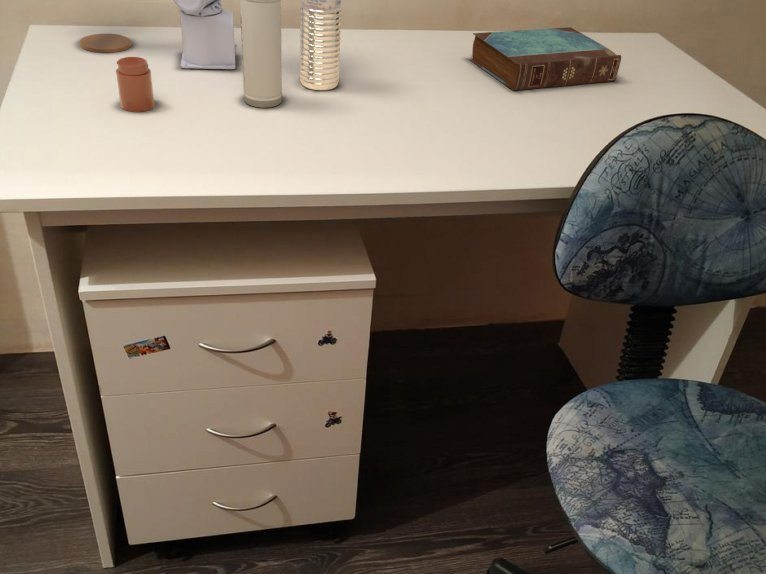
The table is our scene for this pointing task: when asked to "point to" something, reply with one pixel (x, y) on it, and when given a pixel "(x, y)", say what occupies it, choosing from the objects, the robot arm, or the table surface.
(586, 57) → the book
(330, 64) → the water bottle
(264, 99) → the travel mug
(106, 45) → the coaster
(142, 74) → the jar
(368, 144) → the table surface
